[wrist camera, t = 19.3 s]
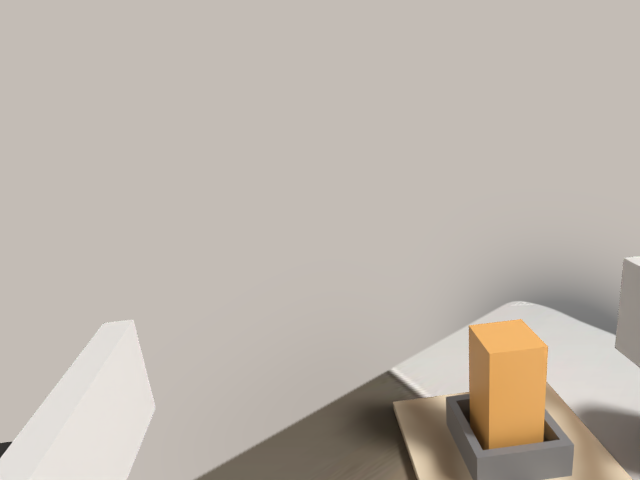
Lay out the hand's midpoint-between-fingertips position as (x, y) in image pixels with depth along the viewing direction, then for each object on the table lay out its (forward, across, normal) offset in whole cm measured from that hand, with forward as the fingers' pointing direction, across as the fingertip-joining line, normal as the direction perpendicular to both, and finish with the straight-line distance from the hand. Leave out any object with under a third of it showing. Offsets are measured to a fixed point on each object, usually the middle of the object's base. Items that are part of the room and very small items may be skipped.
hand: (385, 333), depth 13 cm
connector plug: (+26, +15, -29) cm, 41 cm away
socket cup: (+26, +15, -29) cm, 42 cm away
